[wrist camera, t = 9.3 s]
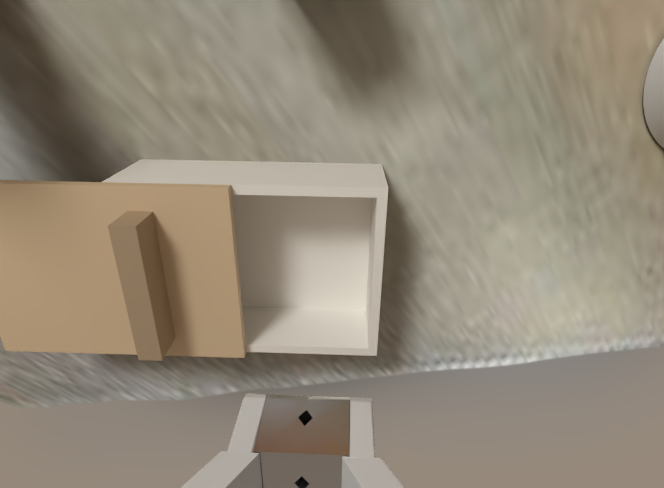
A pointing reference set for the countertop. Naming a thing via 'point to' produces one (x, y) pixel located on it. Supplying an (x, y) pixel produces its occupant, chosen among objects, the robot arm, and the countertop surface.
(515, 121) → the countertop surface
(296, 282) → the base
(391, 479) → the robot arm
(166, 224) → the tan box lid
